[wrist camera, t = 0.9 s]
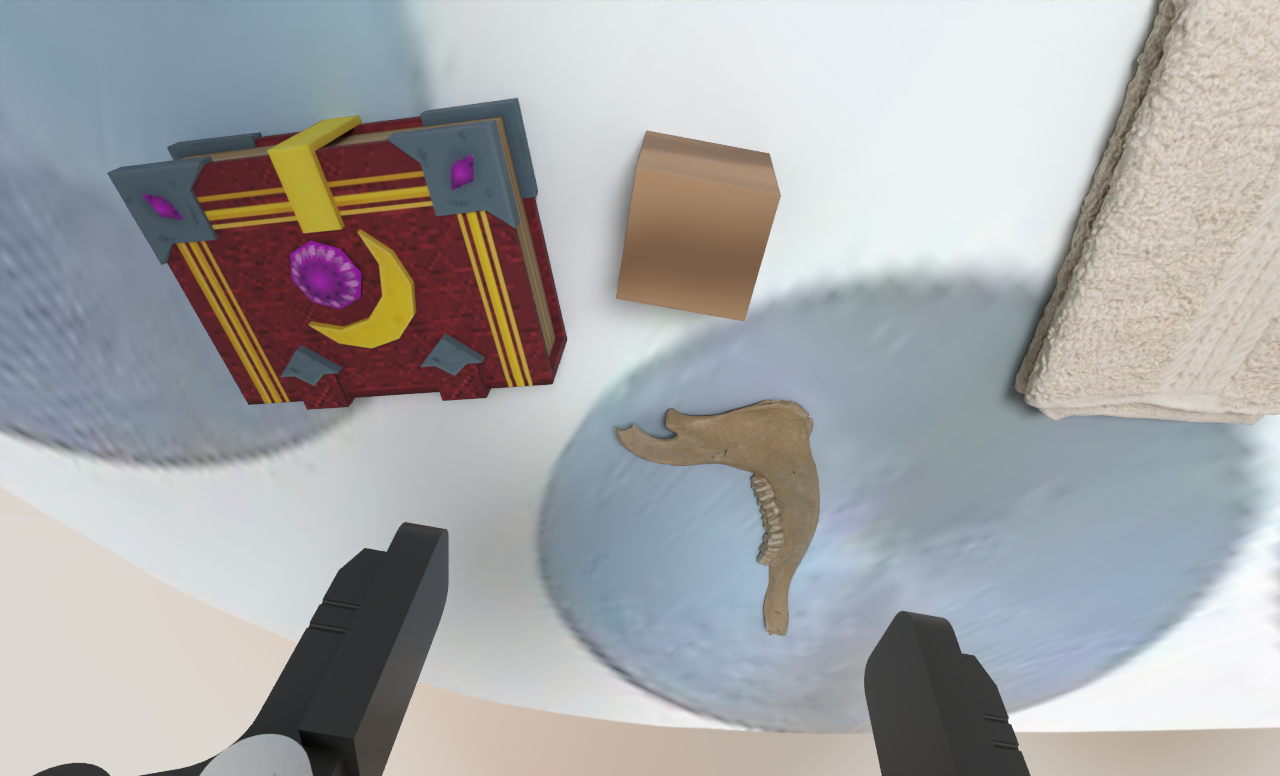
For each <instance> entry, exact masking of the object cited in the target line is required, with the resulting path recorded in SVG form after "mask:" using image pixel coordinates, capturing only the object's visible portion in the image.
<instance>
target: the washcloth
mask: <svg viewBox="0 0 1280 776" xmlns="http://www.w3.org/2000/svg"><path fill="white" fill-rule="evenodd" d="M1140 61H1141V62H1140ZM1137 62H1139V63H1138V64H1139V66H1138V68H1137V72H1136V73H1135V78H1134V79H1133V80H1132V81H1131V82H1130V83H1129V85H1128V90H1127V93H1126V98H1125V100H1124V104H1123V107H1122V111H1121V113H1120V115H1119V117H1118V119H1117V126H1116V128H1115V132H1114V134H1113V135H1112V137H1111V138H1110V139H1108V142H1109V146H1108V148H1107V149H1106V151H1105V152H1104V153H1103V154H1104V156H1103V158H1102V161H1101V163H1100V165H1099V166H1098V168H1097V169H1096V171H1095V174H1094V176H1093V177H1094V184H1093V185H1092V187H1091V189H1090V191H1089V193H1088V195H1087V196H1086V197H1085V198H1084V201H1085V204H1084V205H1083V206H1082V207H1081V210H1082V213H1081V215H1080V217H1079V220H1078V227H1077V229H1076V230H1075V232H1074V233H1073V239H1072V241H1071V251H1070V252H1069V253H1068V255H1067V256H1066V258H1065V261H1064V264H1063V266H1062V268H1061V269H1060V271H1059V273H1058V275H1057V279H1058V281H1057V285H1056V287H1055V289H1054V292H1053V295H1052V298H1051V300H1050V302H1049V303H1048V304H1047V305H1046V307H1045V309H1044V311H1045V312H1044V315H1043V317H1042V318H1041V320H1040V321H1039V323H1038V327H1037V329H1036V331H1035V336H1034V338H1033V340H1032V343H1031V344H1030V346H1029V350H1028V353H1027V354H1026V355H1025V357H1024V359H1023V363H1022V366H1021V368H1020V370H1019V371H1018V373H1017V375H1016V381H1015V384H1014V388H1015V389H1016V391H1018V392H1019V393H1021V394H1025V398H1024V400H1025V403H1026V404H1028V405H1030V406H1033V407H1036V408H1039V410H1040V411H1041V412H1043V413H1044V414H1045V415H1046V416H1047V417H1048V418H1050V419H1052V420H1059V419H1060V418H1064V417H1067V416H1071V415H1081V416H1089V415H1106V416H1117V417H1127V418H1129V417H1133V418H1150V419H1161V420H1163V419H1167V420H1178V421H1188V422H1215V423H1220V422H1223V423H1241V424H1246V425H1253V424H1255V423H1256V422H1257V421H1259V420H1260V419H1261V418H1263V417H1264V415H1277V414H1280V0H1163V1H1162V2H1161V3H1160V5H1159V14H1158V15H1157V16H1156V19H1155V23H1154V28H1153V30H1152V32H1151V34H1150V35H1149V37H1148V39H1147V41H1146V43H1145V48H1144V53H1141V54H1140V56H1139V57H1138V58H1137Z"/></svg>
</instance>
